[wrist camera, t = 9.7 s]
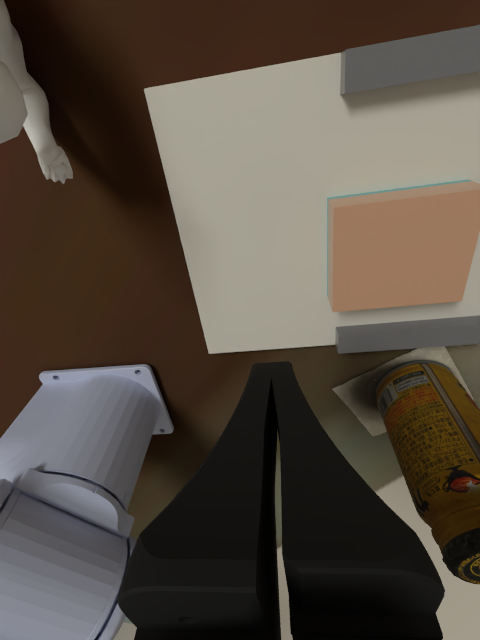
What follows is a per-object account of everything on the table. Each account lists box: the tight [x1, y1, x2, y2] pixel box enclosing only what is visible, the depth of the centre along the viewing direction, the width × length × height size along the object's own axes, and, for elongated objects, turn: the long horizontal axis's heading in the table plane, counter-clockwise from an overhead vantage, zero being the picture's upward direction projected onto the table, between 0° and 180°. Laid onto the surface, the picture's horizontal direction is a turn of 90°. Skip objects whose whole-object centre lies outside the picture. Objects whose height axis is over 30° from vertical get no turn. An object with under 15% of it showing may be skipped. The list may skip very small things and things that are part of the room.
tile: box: [327, 180, 480, 312], centre depth 18 cm, size 2×6×7 cm
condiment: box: [332, 346, 480, 584], centre depth 21 cm, size 7×8×12 cm
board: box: [144, 25, 480, 354], centre depth 18 cm, size 18×16×2 cm
